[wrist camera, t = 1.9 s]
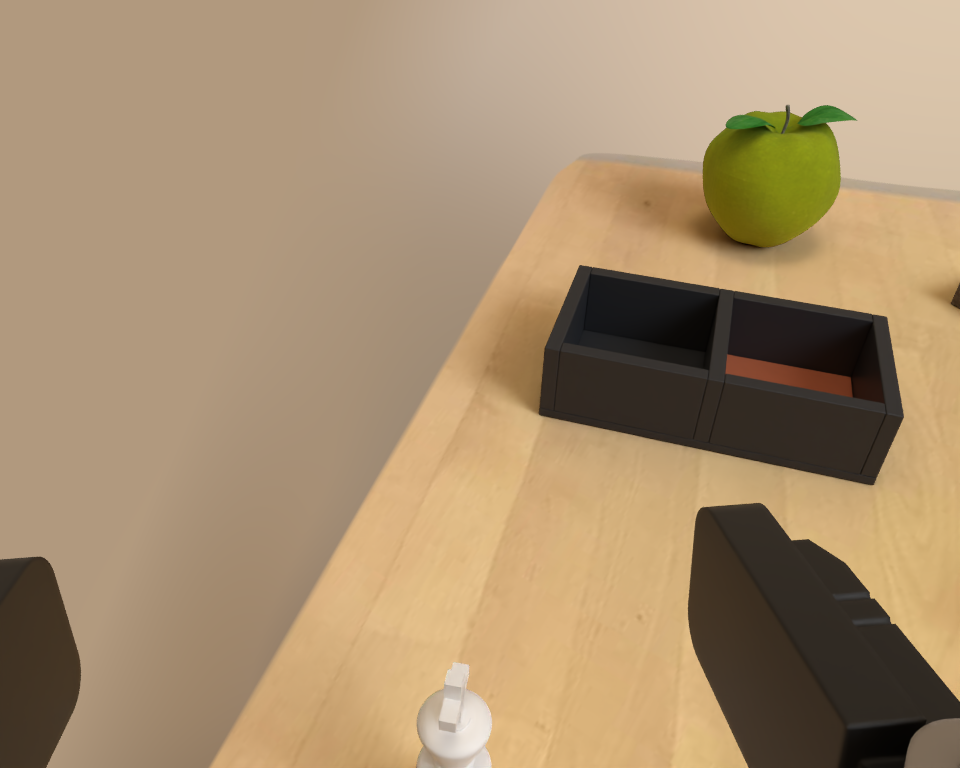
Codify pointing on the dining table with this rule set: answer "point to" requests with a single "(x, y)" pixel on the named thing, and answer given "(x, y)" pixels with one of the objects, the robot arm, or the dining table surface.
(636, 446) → the dining table surface
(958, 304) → the picture frame
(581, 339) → the caddy
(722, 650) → the robot arm
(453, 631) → the dining table surface
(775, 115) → the fruit
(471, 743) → the chess piece
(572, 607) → the dining table surface
